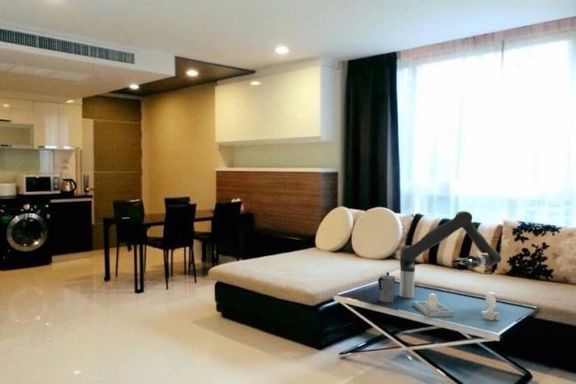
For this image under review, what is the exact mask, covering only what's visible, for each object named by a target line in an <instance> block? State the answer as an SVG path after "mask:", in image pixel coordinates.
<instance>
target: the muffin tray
mask: <svg viewBox="0 0 576 384" xmlns="http://www.w3.org/2000/svg"><path fill="white" fill-rule="evenodd" d="M412 306H413V307H414V306H415V308H416V309H417V310H419V311H420V312H422V313H423V314H424V315H425V316H427V317H428V318H429V317H431V318H433V317H453V316H454V311H453V310H451V309H449V308H447V307H446V306H445V305H443V304H442V303H440V302H439V301H437V312H429V311H428V300H425V301H424V300H423V301H422V300H419V301H416V300H415V301H414V300H413V304H412Z"/></svg>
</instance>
